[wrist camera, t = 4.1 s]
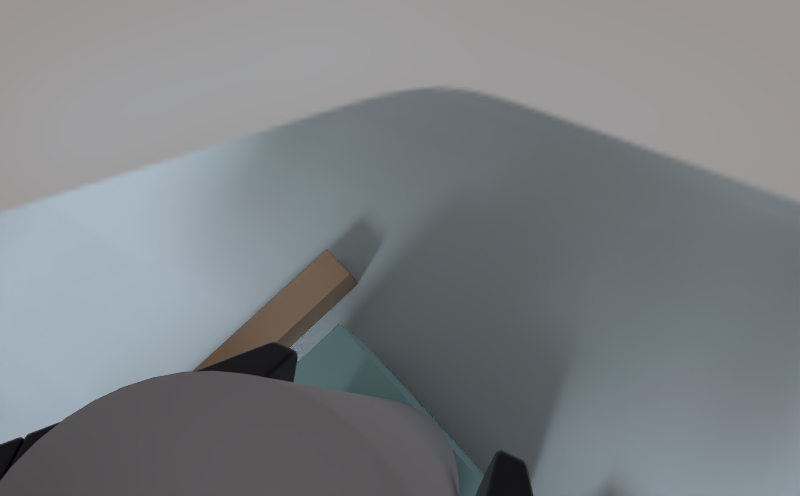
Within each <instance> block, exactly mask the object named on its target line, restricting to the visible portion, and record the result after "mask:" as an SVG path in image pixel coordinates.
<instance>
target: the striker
mask: <svg viewBox="0 0 800 496" xmlns="http://www.w3.org/2000/svg"><path fill="white" fill-rule="evenodd" d="M483 477H484V474H483V472H482V471H481V470H480V469H479V468H478V467H477V466H476V465H475V464H474V463H473V461H472V460H471V459H470V458H469V457H468V456H467V455H466V454H465V453H464V452H463V450H462V449H461V448H460V447H459V446H458V445H457V444H456V443H455V442H454V441H453V439H452V438H451V437H450V436H449V435H448V434H447V433H446V432H445V431H444V430H443V429H442V427H441V426H440V425H439V424H438V423H437V422H436V421H435V420H434V419H433V418H432V416H431V415H430V414H429V413H428V412H427V411H426V410H425V409H424V408H423V407H422V405H421V404H420V403H419V402H418V401H417V400H416V399H415V398H414V397H413V396H412V394H411V393H410V392H409V391H408V390H407V389H406V388H405V387H404V386H403V385H402V383H401V382H400V381H399V380H398V379H397V378H396V377H395V376H394V375H393V374H392V373H391V371H390V370H389V369H388V368H387V367H386V366H385V365H384V364H383V363H382V362H381V360H380V359H379V358H378V357H377V356H376V355H375V354H374V353H373V352H372V351H371V349H370V348H369V347H368V346H367V345H366V344H365V343H364V342H363V341H362V340H360V339H359V338H358V337H356V336H355V335H354V334H352V333H351V332H350V331H348V330H347V329H345V328H344V327H343V326H341V325H340V324H338V325H337V326H336V327H335V328H334V329H333V330H332V331H331V332H330V333H329V334H328V335H327V336H326V337H325V338H324V339H322V340H321V341H320V342H319V343H318V344H317V345H316V346H315V347H314V348H313V349H312V350H311V351H310V352H309V353H308V354H306V355H305V356H304V357H303V358H302V359H301V360H300V361H299V362H298V363H297V365H296V371H295V377H294V382H288V381H282V380H277V379H271V378H265V377H260V376H254V375H249V374H242V373H231V372H221V371H198V372H181V373H176V374H170V375H165V376H159V377H154V378H150V379H147V380H144V381H141V382H138V383H135V384H131V385H128V386H125V387H122V388H120V389H118V390H116V391H114V392H112V393H109V394H107V395H105V396H103V397H101V398H99V399H97V400H94V401H93V402H91V403H89V404H88V405H86V406H85V407H83V408H81V409H80V410H78V411H77V412H75V413H73V414H72V415H70V416H69V417H67V418H65V419H64V420H63V421H61V422H60V423H59V424H58V425H56V426H55V427H54V428H53V429H51V430H50V431H49V432H48V433H46V434H45V435H44V436H43V437H41V438H40V439H39V440H38V441H37V442H36V443H35V444H34V445H33V446H32V447H31V448H30V449H29V450H28V451H27V452H26V453H25V454H24V455H23V456H22V457H21V458H20V459H19V460H18V461H17V462H16V463H15V464H14V465H13V466H12V467H11V468H10V469H9V471H8V472H7V473H6V474H5V475H4V477H3V478H2V479H1V480H0V496H475V495H476V493H477V490H478V488H479V486H480V483H481V481H482V479H483Z"/></svg>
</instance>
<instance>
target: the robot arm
mask: <svg viewBox="0 0 800 496" xmlns="http://www.w3.org/2000/svg"><path fill="white" fill-rule="evenodd" d="M296 365H297V353H296V352H295V351H294V350H293V349H291V348H288V347H286V346H284V345H282V344H280V343H278V342H270V343H267V344H264V345H262V346H259V347H257V348H254V349H251V350H249V351H246V352H243V353H241V354H238V355H235V356H233V357H230V358H228V359H225V360H222V361H220V362H217V363H214V364H212V365H209V366H207V367H204V368H201V369H199V370H196V371H193V372H198V371H221V372H231V373H242V374H249V375H254V376H260V377H265V378H271V379H277V380H282V381H288V382H294V377H295V371H296ZM59 423H60V422H59ZM59 423H56V424H54V425H51V426H48V427H46V428H43V429H41V430H38V431H35V432H33V433H30V434H28V435H27V436H26V437H25V439H23V438H22V437H19V438H16V439H14V440H11V441H8V442H6V443H3V444H0V480H1V479H2V478H3V477H4V475H5V474H6V473H7V472H8V471H9V469H10V468H11V467H12V466H13V465H14V464H15V463H16V462H17V461H18V460H19V459H20V458H21V457H22V456H23V455H24V454H25V453H26V452H27V451H28V450H29V449H30V448H31V447H32V446H33V445H34V444H35V443H36V442H37V441H38V440H39V439H40V438H41V437H43V436H44V435H45V434H46V433H48V432H49V431H50V430H51V429H53V428H54V427H55V426H56V425H58V424H59ZM475 496H533V492H532V487H531V483H530V478H529V474H528V469H527V466H526V464H525V462H524V461H523V460H521V459H519V458H517V457H515V456H513V455H511V454H509V453H507V452H505V451H502V450H500V451H497V452H496V454H495V455H494V457H493V459H492V461H491V463H490V465H489V467H488V469H487V471H486V473H485V475H484V477H483V479H482V481H481V483H480V486H479V488H478V490H477V493H476V495H475Z"/></svg>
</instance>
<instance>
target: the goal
mask: <svg viewBox="0 0 800 496" xmlns="http://www.w3.org/2000/svg"><path fill="white" fill-rule="evenodd" d="M356 285H357V282H356V281H355V280H354V279H353V277H352V276H351V275H350V274H349V272H348V271H347V270H346V269H345V268H344V267H343V266H342V265H341V264H340V263H339V262H338V261H337V260H336V259H335V258H334V257H333V256H332V255H331V253H330V252H329V251H328V250H325V251H324V252H323V253H322V254H321V255H320V256H319V257H318V258H317V259H316V260H314V261H313V262H312V263H311V264H310V265H309V266H308V267H307V268H306V269H305V270H303V271H302V272H301V273H300V274H299V275H298V276H297V277H296V278H295V279H294V280H293V281H291V282H290V283H289V284H288V285H287V286H286V287H285V288H284V289H283V290H282V291H280V292H279V293H278V294H277V295H276V296H275V297H274V298H273V299H272V300H271V301H269V302H268V303H267V304H266V305H265V306H264V307H263V308H262V309H261V310H260V311H258V312H257V313H256V314H255V315H254V316H253V317H252V318H251V319H250V320H249V321H248V322H246V323H245V324H244V325H243V326H242V327H241V328H240V329H239V330H238V331H237V332H235V333H234V334H233V335H232V336H231V337H230V338H229V339H228V340H227V341H226V342H224V343H223V344H222V345H221V346H220V347H219V348H218V349H217V350H216V351H215V352H213V353H212V354H211V355H210V356H209V357H208V358H207V359H206V360H205V361H204V362H203V363H201V364H200V365H199V366H198V367H197V368H196V369H195V370H194V371H196V370H199V369H201V368H204V367H207V366H209V365H212V364H214V363H217V362H220V361H222V360H225V359H228V358H230V357H233V356H235V355H238V354H241V353H243V352H246V351H249V350H251V349H254V348H257V347H259V346H262V345H264V344H267V343H270V342H278V343H280V344H282V345H284V346H286V347H288V348H289V347H290V346H291V345H292V344H293V343H294V342H296V341H297V340H298V339H299V338H300V337H301V336H302V335H303V334H304V333H305V332H306V331H307V330H308V329H310V328H311V327H312V326H313V325H314V324H315V323H316V322H317V321H318V320H319V319H320V318H321V317H322V316H323V315H325V314H326V313H327V312H328V311H329V310H330V309H331V308H332V307H333V306H334V305H335V304H336V303H337V302H339V301H340V300H341V299H342V298H343V297H344V296H345V295H346V294H347V293H348V292H349V291H350V290H351V289H352V288H354V287H355V286H356Z"/></svg>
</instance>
